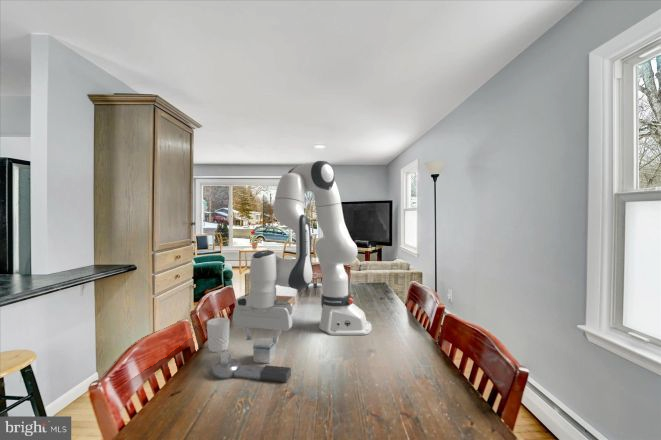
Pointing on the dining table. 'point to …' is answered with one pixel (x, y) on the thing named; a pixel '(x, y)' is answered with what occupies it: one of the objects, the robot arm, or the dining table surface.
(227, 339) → the white cup
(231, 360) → the ratchet
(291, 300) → the tray
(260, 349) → the pale grey cube
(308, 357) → the dining table surface
